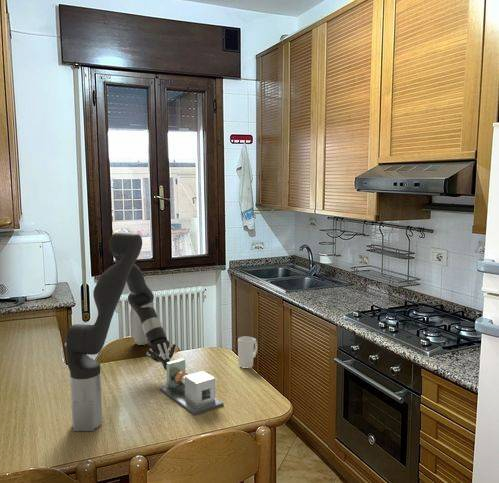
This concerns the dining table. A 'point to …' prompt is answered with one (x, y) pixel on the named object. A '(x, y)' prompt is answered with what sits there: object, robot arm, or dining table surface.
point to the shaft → (176, 372)
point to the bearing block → (195, 393)
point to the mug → (246, 351)
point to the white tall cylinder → (137, 327)
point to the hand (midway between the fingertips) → (169, 369)
